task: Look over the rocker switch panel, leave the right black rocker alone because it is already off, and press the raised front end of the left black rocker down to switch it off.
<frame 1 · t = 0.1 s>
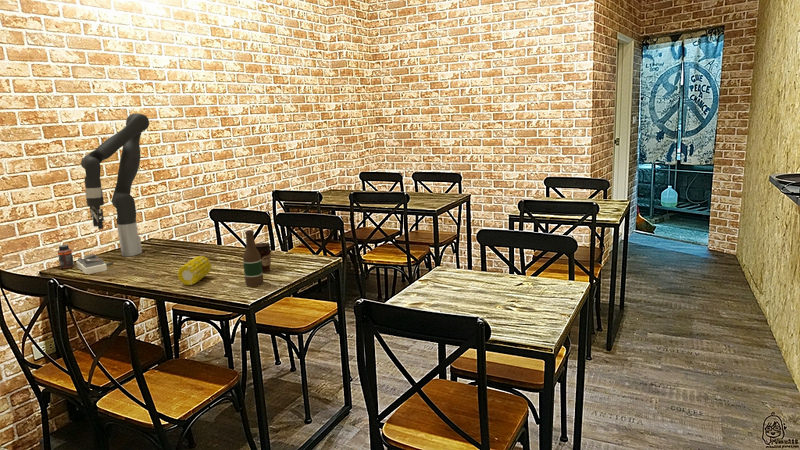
hand: (98, 227, 271), 17 cm above the table, tool pointing down, fingers open, 8 cm apart
right rocker: (87, 257, 264), point 5 cm above the table, hinge at 12.0°
coffee cup: (264, 271, 250), on the table
food: (196, 281, 239), on the table
beer bottle: (254, 284, 232), on the table
rocker switch panel: (91, 268, 262), on the table
supplement bottle: (67, 267, 265), on the table
left rocker: (92, 261, 257), point 5 cm above the table, hinge at -12.0°
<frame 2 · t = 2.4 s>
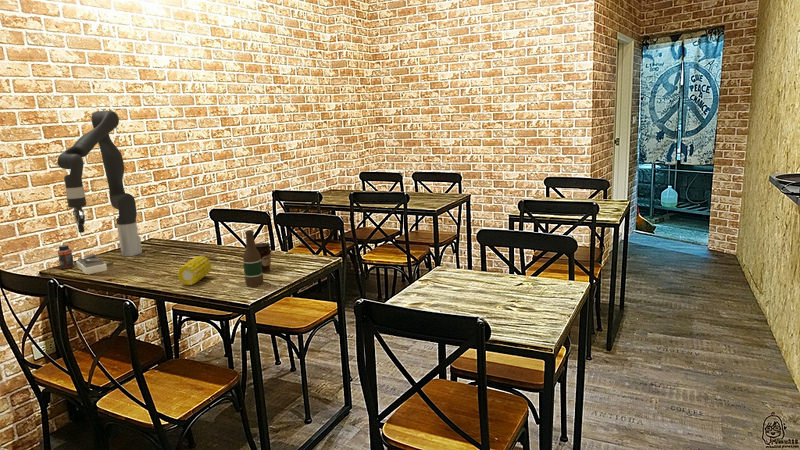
hand: (81, 232, 253), 19 cm above the table, tool pointing down, fingers closed
nothing on the table moved.
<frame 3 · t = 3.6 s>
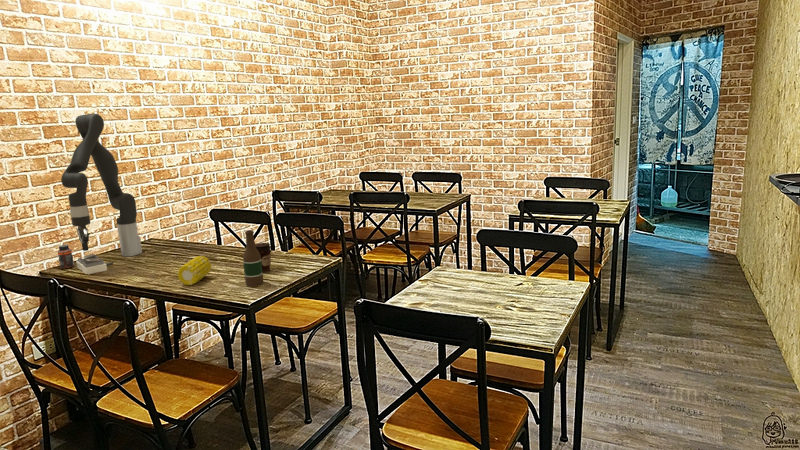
hand: (85, 250, 255), 11 cm above the table, tool pointing down, fingers closed
nothing on the table moved.
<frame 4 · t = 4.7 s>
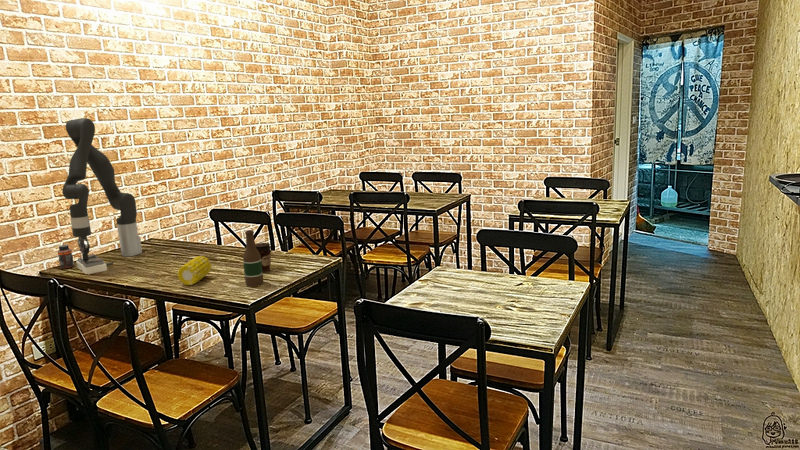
hand: (86, 261, 255), 5 cm above the table, tool pointing down, fingers closed
left rocker: (92, 261, 257), point 5 cm above the table, hinge at -8.7°, touching gripper
everything else where it was.
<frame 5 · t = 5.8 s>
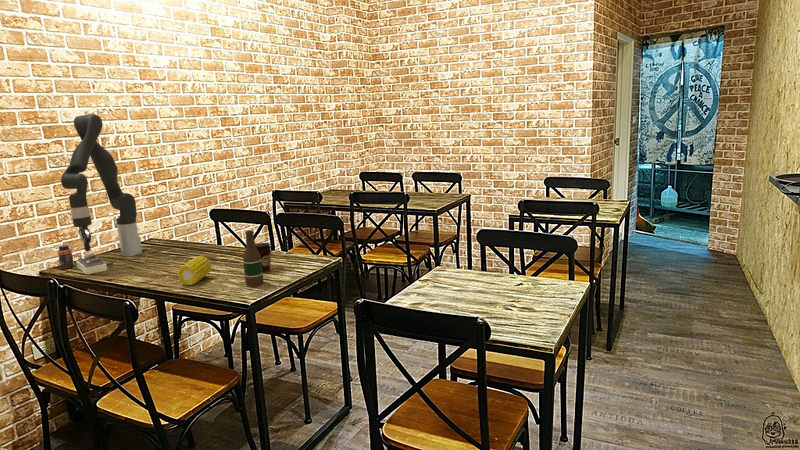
hand: (87, 250, 255), 10 cm above the table, tool pointing down, fingers closed
left rocker: (92, 261, 257), point 5 cm above the table, hinge at 10.8°
everything else where it was.
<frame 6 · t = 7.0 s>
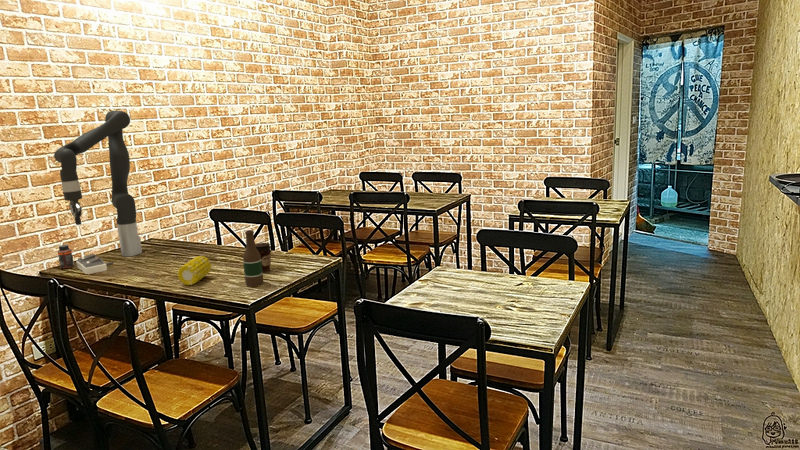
hand: (78, 224, 262), 21 cm above the table, tool pointing down, fingers closed
left rocker: (92, 261, 257), point 5 cm above the table, hinge at 18.3°, touching rocker switch panel
everything else where it was.
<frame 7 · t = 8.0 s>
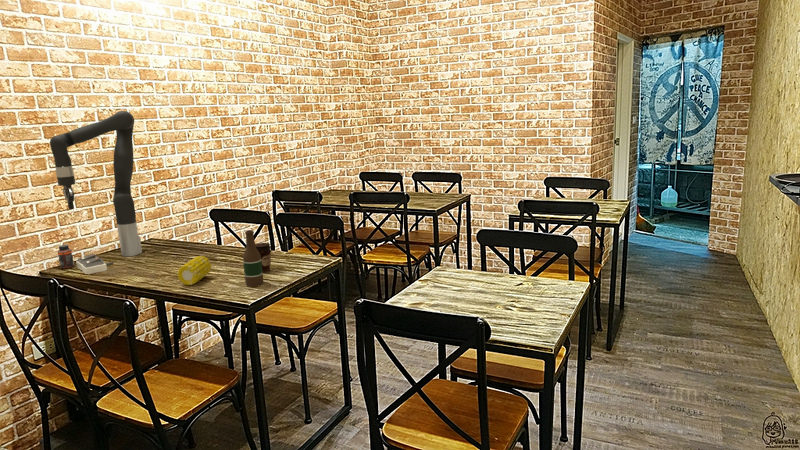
hand: (71, 209, 271), 27 cm above the table, tool pointing down, fingers closed
left rocker: (92, 261, 257), point 5 cm above the table, hinge at 14.2°
everything else where it was.
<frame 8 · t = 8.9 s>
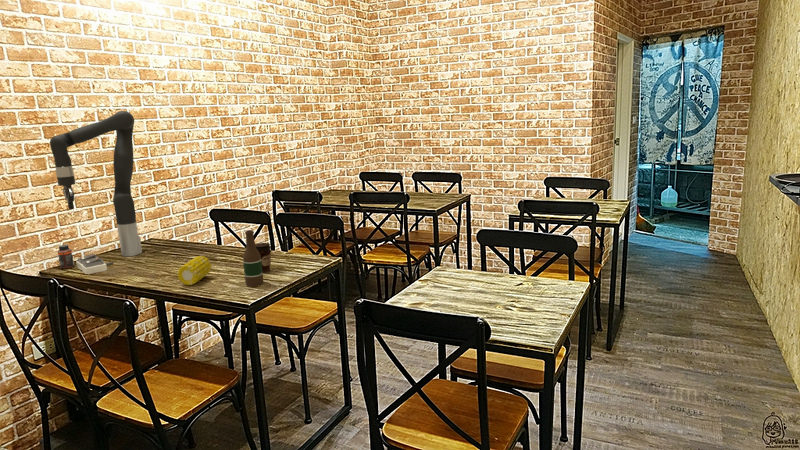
hand: (71, 209, 271), 27 cm above the table, tool pointing down, fingers closed
left rocker: (92, 261, 257), point 5 cm above the table, hinge at 11.8°
everything else where it was.
at the end: left rocker at +11° (first picture: -12°); right rocker at +12° (first picture: +12°) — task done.
